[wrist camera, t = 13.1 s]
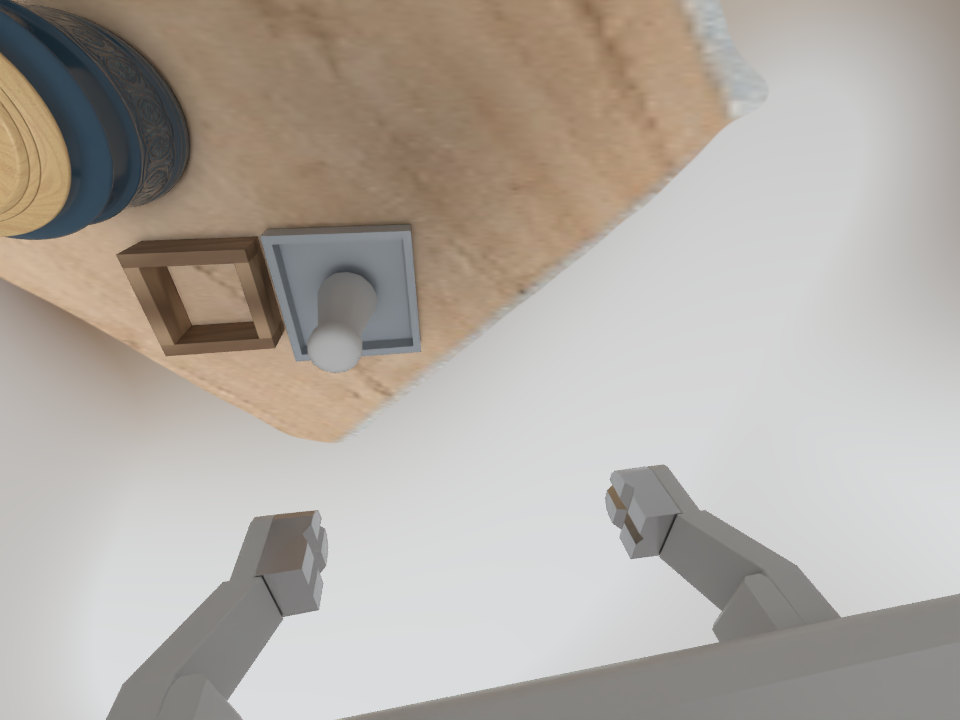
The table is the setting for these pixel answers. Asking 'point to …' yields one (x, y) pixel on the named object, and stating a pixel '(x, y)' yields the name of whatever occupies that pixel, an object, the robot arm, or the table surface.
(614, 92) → the table surface
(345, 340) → the salt shaker
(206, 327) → the socket block
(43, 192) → the canister
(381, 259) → the tray
